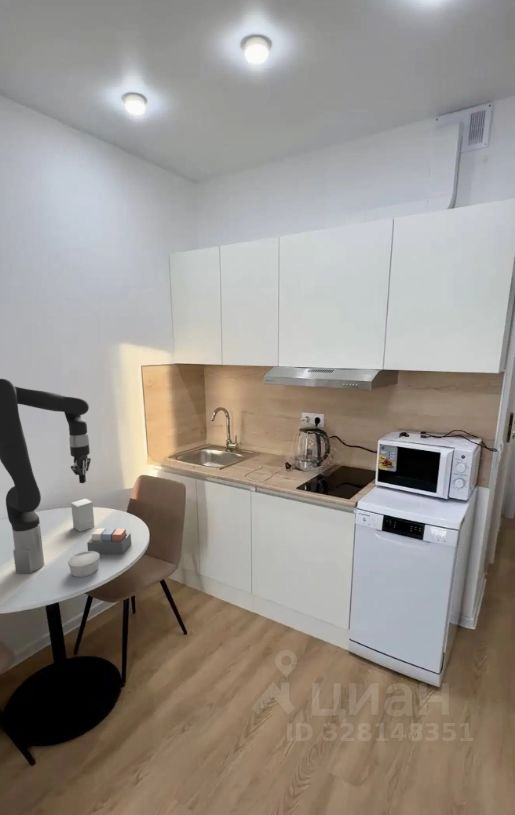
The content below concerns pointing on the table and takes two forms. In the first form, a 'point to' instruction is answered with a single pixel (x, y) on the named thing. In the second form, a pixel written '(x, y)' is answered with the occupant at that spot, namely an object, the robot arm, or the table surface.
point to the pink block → (119, 535)
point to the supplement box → (82, 514)
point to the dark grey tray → (110, 546)
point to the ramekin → (84, 563)
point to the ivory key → (97, 534)
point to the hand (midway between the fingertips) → (82, 482)
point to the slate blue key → (108, 534)
